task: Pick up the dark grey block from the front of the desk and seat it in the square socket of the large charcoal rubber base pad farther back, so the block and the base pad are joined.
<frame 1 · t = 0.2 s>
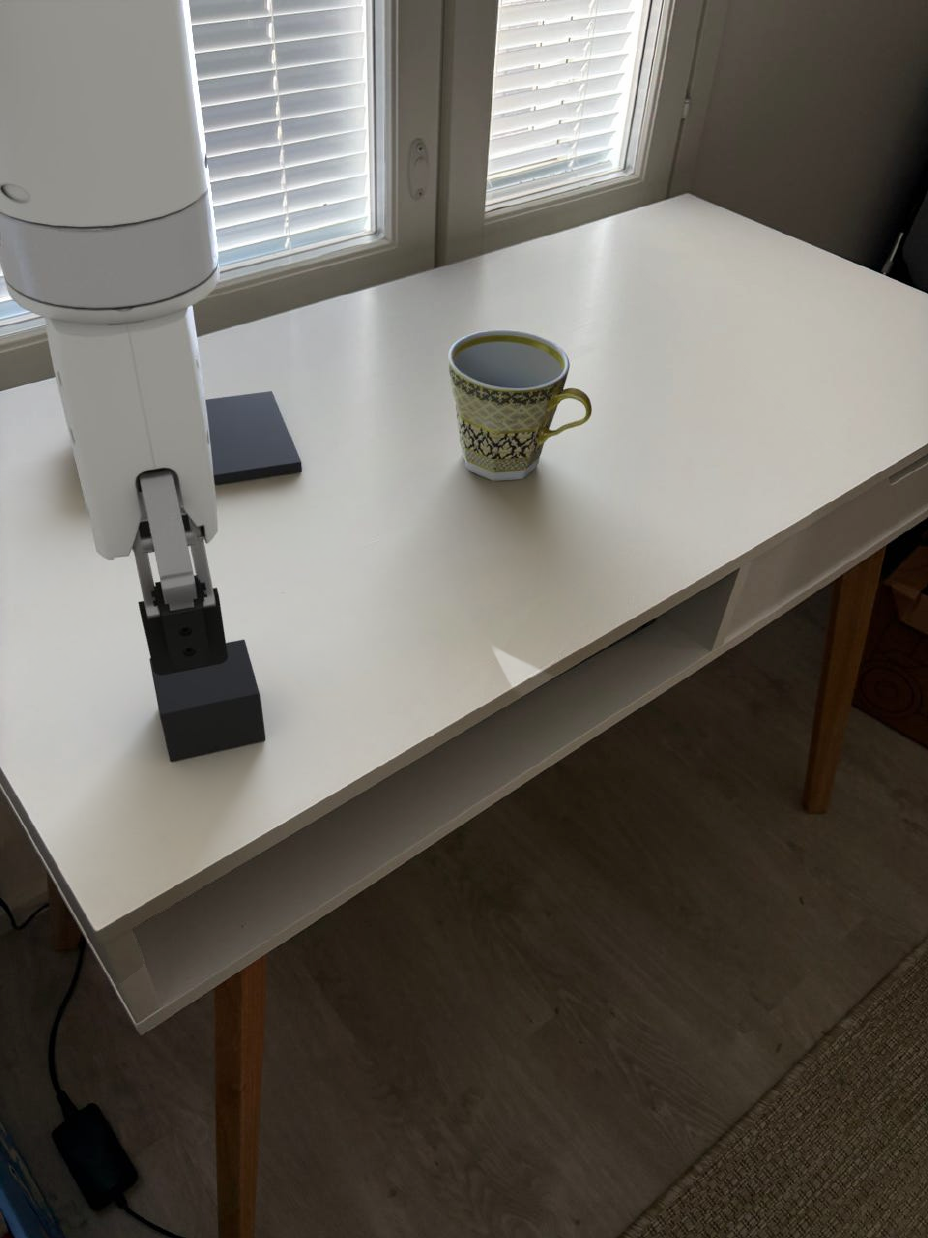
hand: (175, 594, 48), 18 cm above the table, tool pointing down, fingers open, 9 cm apart
base pad: (196, 447, 88), on the table
dark grey block: (212, 723, 66), on the table
ceramic cup: (513, 467, 89), on the table
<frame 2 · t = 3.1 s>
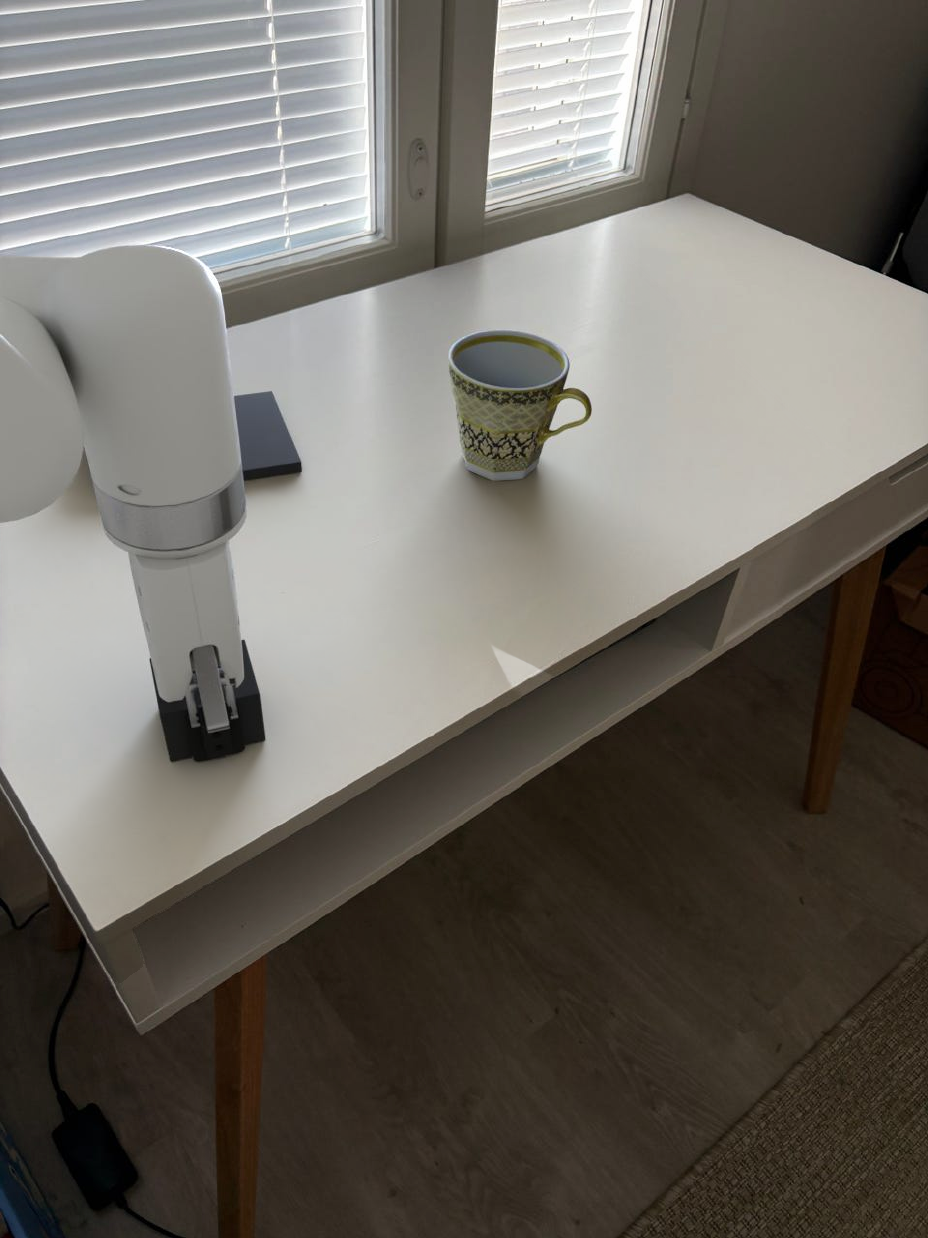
hand: (211, 718, 65), 0 cm above the table, tool pointing down, fingers closed on dark grey block, 5 cm apart
dark grey block: (212, 723, 66), on the table, touching gripper
everything else where it was.
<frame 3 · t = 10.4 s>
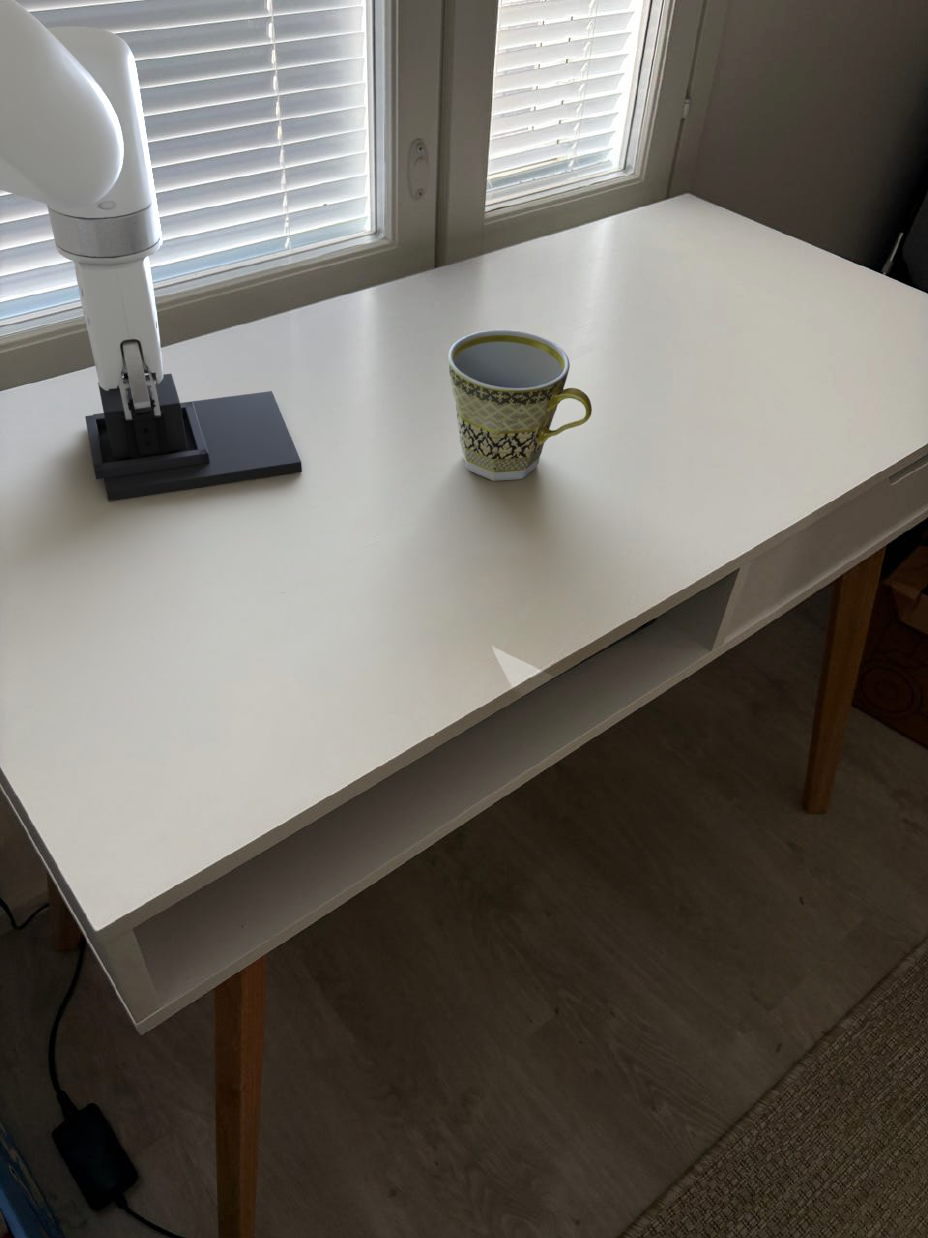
hand: (145, 434, 86), 2 cm above the table, tool pointing down, fingers closed on dark grey block, 5 cm apart
dark grey block: (147, 438, 86), point 2 cm above the table, touching gripper
everything else where it was.
when the fingers open (4 cm above the table, at t = 20.4 s): dark grey block drops 2 cm, resting on base pad.
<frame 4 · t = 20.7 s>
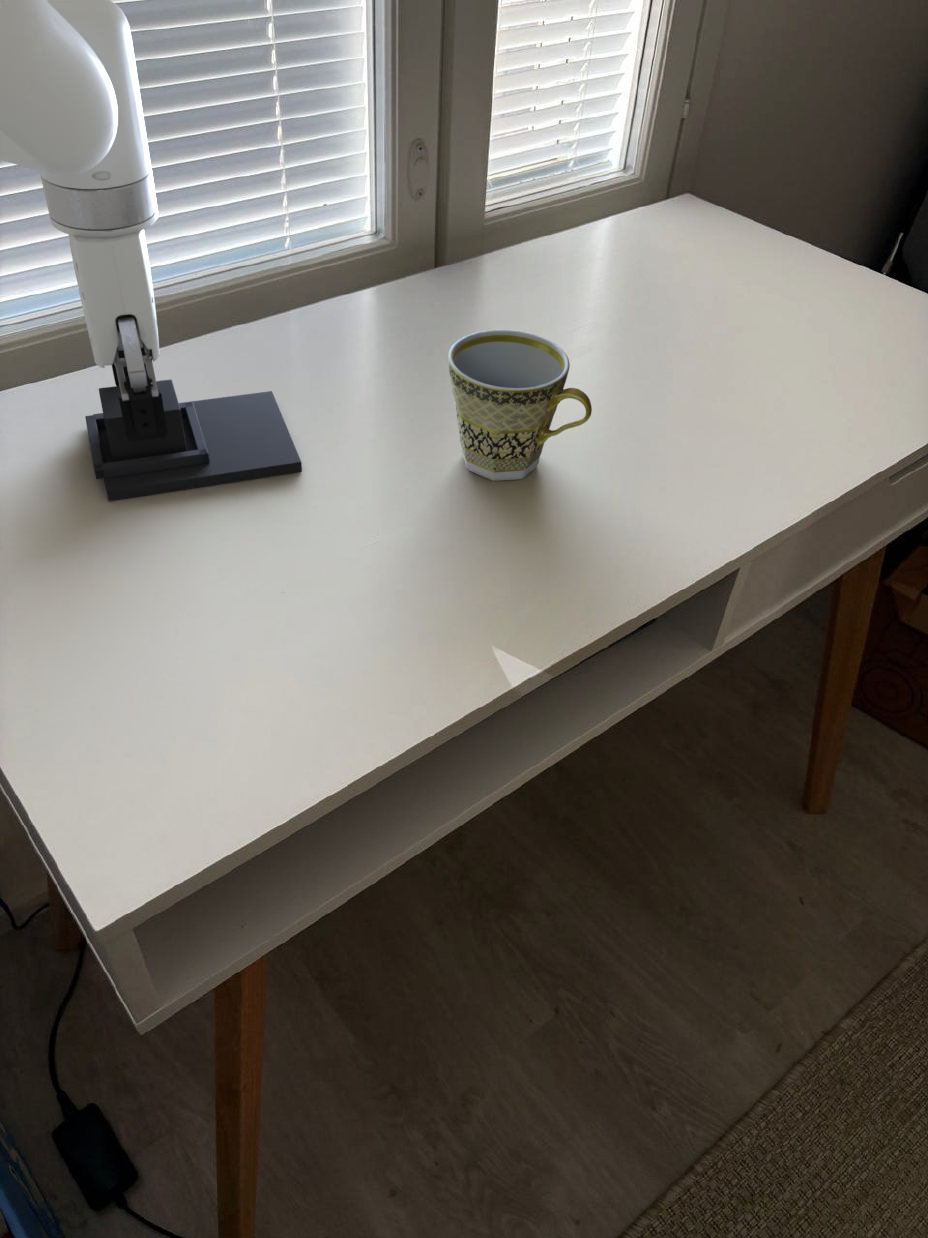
hand: (141, 408, 84), 4 cm above the table, tool pointing down, fingers open, 8 cm apart
dark grey block: (147, 444, 86), point 1 cm above the table, touching base pad
everything else where it was.
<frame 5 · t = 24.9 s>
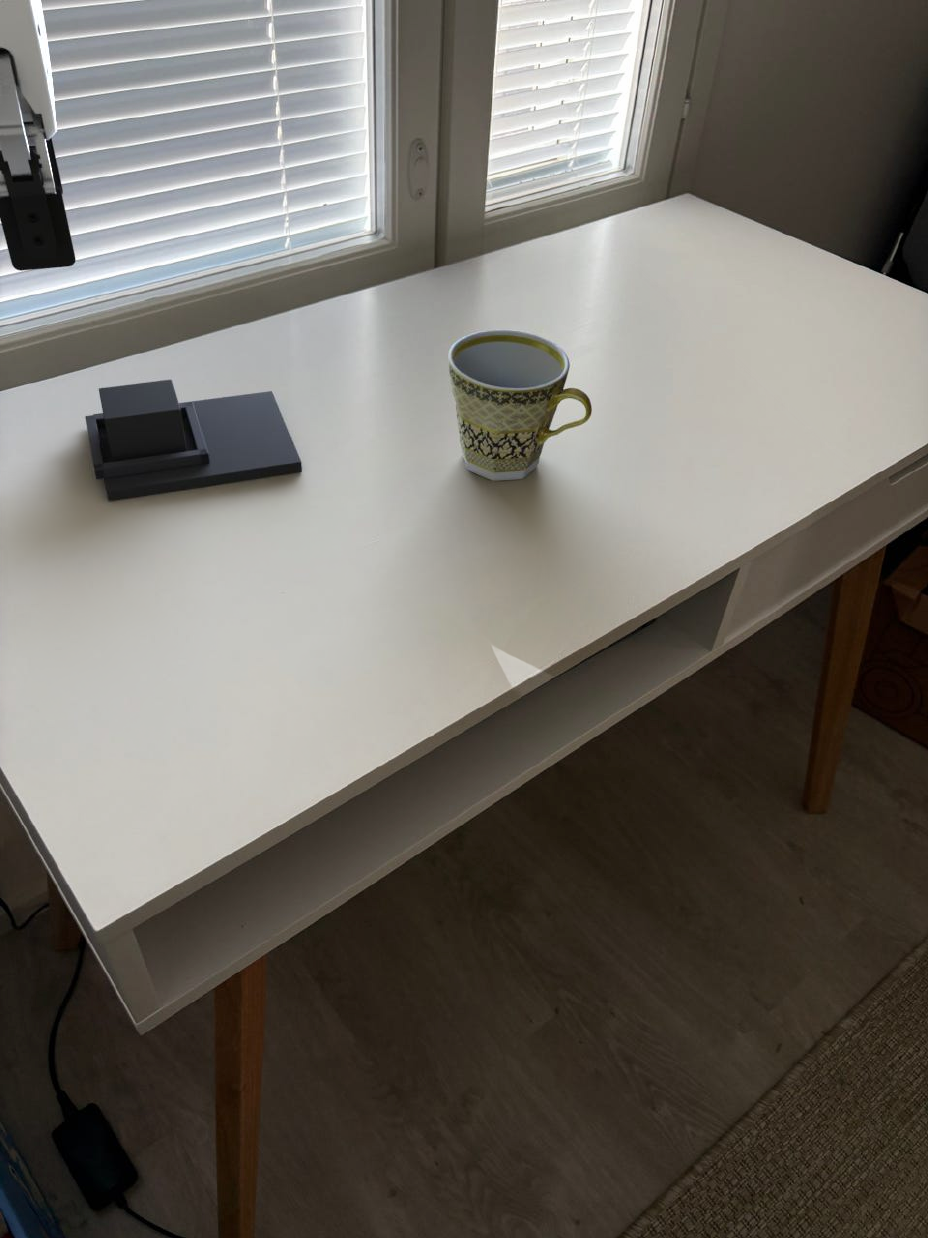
hand: (40, 229, 57), 26 cm above the table, tool pointing down, fingers open, 9 cm apart
nothing on the table moved.
at the end: dark grey block 0.1 cm from the target spot on the base pad, point 1.0 cm above the base pad's base; dark grey block tilted 0° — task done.
